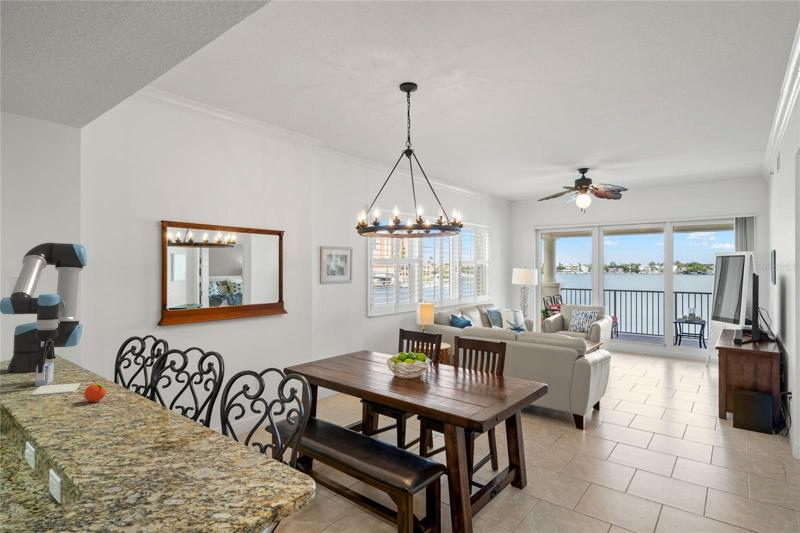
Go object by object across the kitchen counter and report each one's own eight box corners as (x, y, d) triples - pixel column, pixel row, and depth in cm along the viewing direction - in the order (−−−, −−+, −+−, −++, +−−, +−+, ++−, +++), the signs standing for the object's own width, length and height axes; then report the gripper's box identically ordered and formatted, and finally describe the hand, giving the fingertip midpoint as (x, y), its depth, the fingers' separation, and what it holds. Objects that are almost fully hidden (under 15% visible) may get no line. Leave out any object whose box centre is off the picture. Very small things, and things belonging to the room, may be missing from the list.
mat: (40, 387, 184) (40, 385, 184) (80, 384, 190) (80, 383, 190) (30, 395, 171) (30, 394, 171) (73, 392, 178) (74, 391, 178)
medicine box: (41, 382, 192) (42, 362, 192) (53, 381, 194) (54, 362, 194) (34, 386, 185) (35, 366, 185) (47, 385, 187) (48, 365, 187)
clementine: (112, 399, 170) (113, 381, 170) (98, 404, 163) (99, 386, 163) (93, 398, 171) (94, 380, 171) (79, 403, 164) (79, 385, 164)
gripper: (50, 331, 180) (47, 382, 180) (64, 325, 202) (61, 370, 202) (27, 332, 177) (24, 384, 176) (44, 326, 199) (41, 371, 198)
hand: (44, 377), depth 189 cm, fingers open, 13 cm apart
